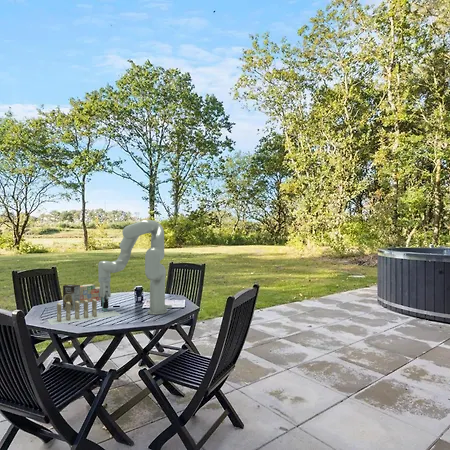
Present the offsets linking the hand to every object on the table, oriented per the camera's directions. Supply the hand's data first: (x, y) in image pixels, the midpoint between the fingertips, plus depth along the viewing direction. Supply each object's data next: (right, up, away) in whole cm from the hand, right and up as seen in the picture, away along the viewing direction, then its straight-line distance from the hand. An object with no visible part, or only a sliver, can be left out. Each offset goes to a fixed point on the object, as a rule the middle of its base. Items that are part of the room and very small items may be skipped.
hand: (104, 307), depth 238 cm
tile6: (-18, -2, -26) cm, 32 cm away
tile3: (-5, -2, -18) cm, 19 cm away
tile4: (-10, -2, -21) cm, 23 cm away
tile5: (-14, -2, -24) cm, 27 cm away
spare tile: (0, -2, 0) cm, 2 cm away
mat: (-6, -2, -18) cm, 19 cm away
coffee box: (-24, -3, +6) cm, 25 cm away
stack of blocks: (-21, -3, +32) cm, 38 cm away
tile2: (-1, -2, -15) cm, 15 cm away
